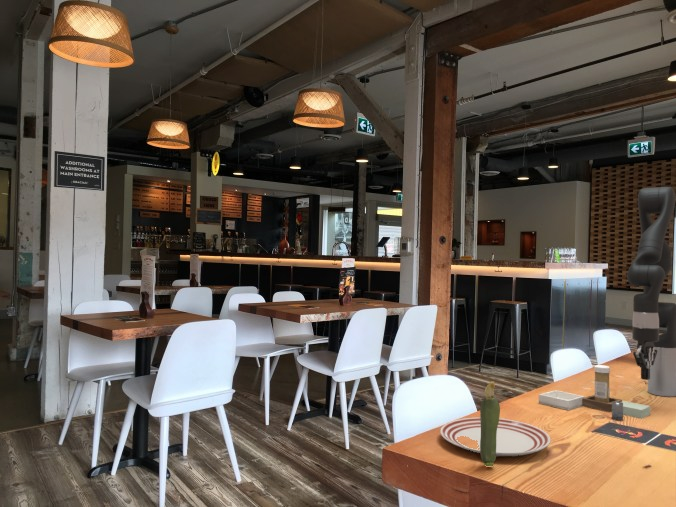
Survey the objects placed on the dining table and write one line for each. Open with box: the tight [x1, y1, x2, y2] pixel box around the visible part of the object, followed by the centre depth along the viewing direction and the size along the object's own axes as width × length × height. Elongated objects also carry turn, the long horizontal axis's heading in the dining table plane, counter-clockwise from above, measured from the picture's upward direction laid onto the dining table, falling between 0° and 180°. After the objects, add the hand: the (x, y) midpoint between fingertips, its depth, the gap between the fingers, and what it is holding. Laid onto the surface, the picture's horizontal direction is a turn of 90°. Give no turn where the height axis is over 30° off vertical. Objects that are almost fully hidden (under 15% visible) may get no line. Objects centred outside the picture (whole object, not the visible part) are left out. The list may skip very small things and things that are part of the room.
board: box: [622, 400, 651, 420], centre depth 167 cm, size 7×8×3 cm
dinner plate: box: [439, 416, 551, 457], centre depth 138 cm, size 28×27×3 cm
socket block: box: [581, 394, 623, 413], centre depth 174 cm, size 9×9×2 cm
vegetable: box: [479, 380, 501, 467], centre depth 122 cm, size 4×4×20 cm
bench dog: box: [611, 401, 624, 422], centre depth 161 cm, size 3×3×5 cm
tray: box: [538, 389, 586, 411], centre depth 177 cm, size 10×10×3 cm
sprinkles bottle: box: [593, 364, 611, 403], centre depth 174 cm, size 5×5×13 cm
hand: (645, 379), depth 172 cm, fingers closed
